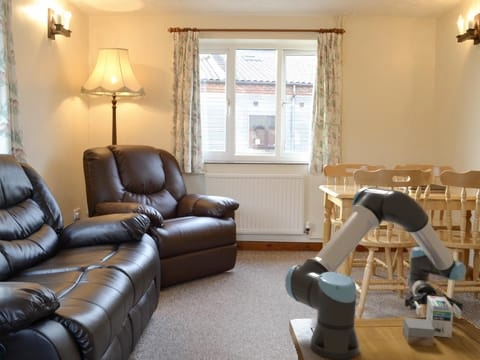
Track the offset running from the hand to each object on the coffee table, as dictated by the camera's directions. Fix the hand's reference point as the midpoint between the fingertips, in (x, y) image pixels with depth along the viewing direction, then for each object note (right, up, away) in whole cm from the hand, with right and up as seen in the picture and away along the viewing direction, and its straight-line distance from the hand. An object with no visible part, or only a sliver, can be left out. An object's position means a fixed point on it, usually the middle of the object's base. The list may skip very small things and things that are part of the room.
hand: (439, 313), depth 159 cm
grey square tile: (-10, -4, -7) cm, 13 cm away
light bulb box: (0, -7, +1) cm, 7 cm away
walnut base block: (-10, -7, -7) cm, 14 cm away
